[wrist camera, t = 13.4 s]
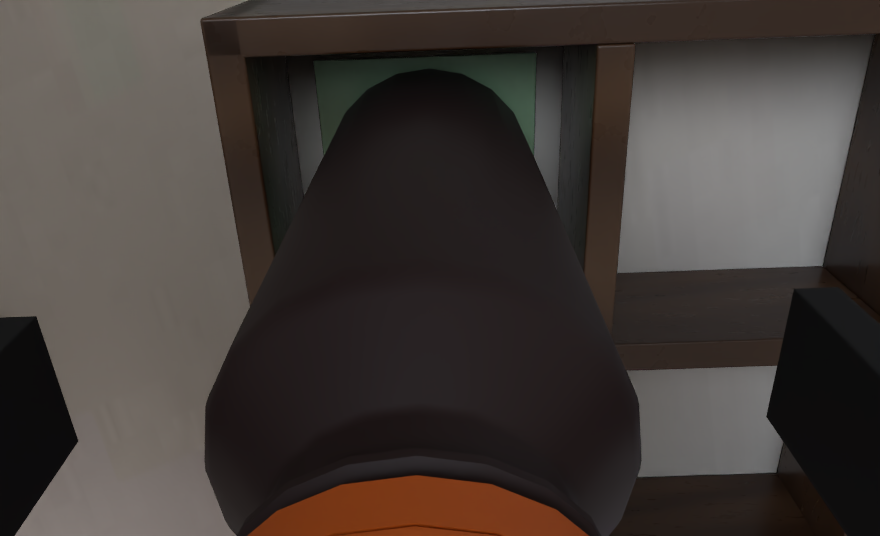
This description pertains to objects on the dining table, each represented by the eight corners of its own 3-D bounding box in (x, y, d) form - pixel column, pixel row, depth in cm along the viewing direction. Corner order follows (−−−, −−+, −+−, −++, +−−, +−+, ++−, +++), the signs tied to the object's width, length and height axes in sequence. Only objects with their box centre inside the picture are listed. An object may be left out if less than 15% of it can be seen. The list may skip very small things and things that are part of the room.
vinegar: (300, 103, 23) (-164, 705, 5) (497, 37, 22) (756, 487, 4) (371, 277, 26) (229, 1059, 8) (549, 225, 25) (836, 968, 7)
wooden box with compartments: (246, 0, 22) (198, 18, 18) (920, -26, 22) (1045, -14, 17) (320, 504, 31) (300, 601, 27) (795, 489, 31) (856, 584, 26)
